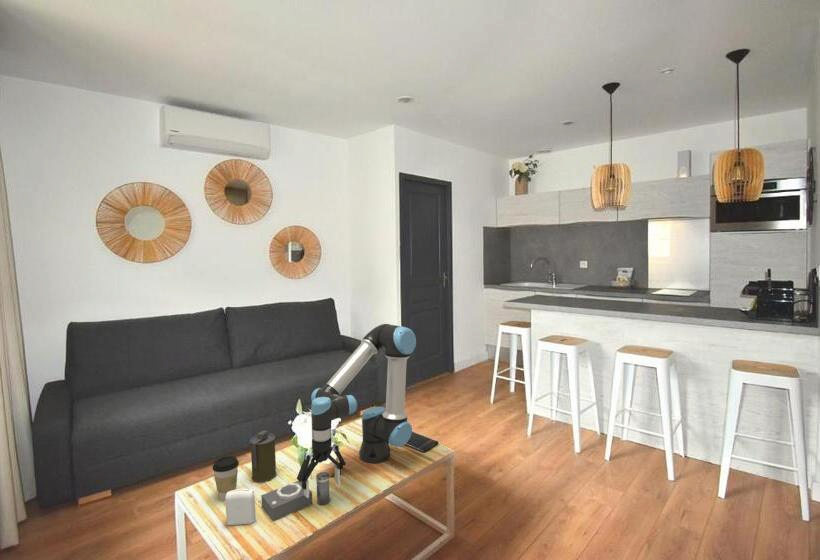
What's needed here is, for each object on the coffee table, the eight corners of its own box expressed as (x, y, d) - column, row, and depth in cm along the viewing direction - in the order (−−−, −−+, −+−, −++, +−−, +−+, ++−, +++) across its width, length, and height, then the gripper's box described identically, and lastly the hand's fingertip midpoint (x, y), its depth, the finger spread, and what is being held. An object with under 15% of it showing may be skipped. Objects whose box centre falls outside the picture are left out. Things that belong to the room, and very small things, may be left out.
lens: (326, 496, 170) (325, 470, 170) (332, 502, 166) (331, 475, 166) (314, 501, 167) (313, 474, 166) (320, 507, 163) (320, 480, 162)
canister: (262, 468, 193) (260, 426, 191) (281, 472, 189) (279, 429, 188) (245, 481, 182) (243, 436, 181) (265, 485, 179) (263, 439, 177)
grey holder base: (300, 491, 174) (299, 477, 173) (312, 504, 165) (312, 489, 165) (261, 507, 164) (261, 492, 163) (272, 521, 155) (272, 505, 155)
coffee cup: (245, 494, 172) (243, 459, 171) (223, 506, 164) (221, 470, 163) (231, 487, 178) (229, 452, 177) (209, 498, 170) (207, 462, 169)
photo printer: (224, 526, 152) (223, 494, 152) (228, 519, 157) (227, 487, 156) (254, 524, 153) (252, 492, 153) (257, 517, 158) (255, 485, 157)
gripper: (344, 426, 176) (344, 475, 177) (287, 443, 160) (288, 497, 161) (353, 432, 170) (354, 482, 171) (295, 450, 154) (296, 506, 155)
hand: (322, 490), depth 166 cm, fingers open, 13 cm apart
